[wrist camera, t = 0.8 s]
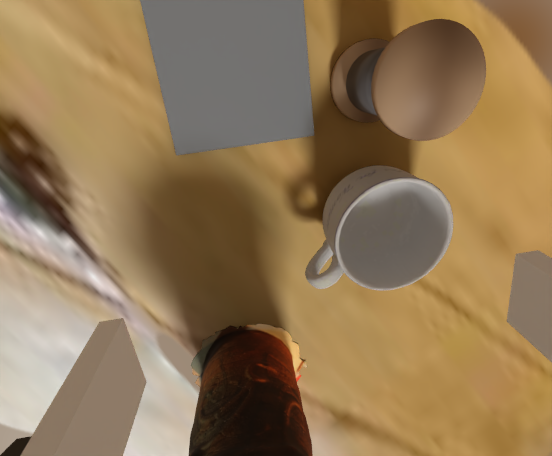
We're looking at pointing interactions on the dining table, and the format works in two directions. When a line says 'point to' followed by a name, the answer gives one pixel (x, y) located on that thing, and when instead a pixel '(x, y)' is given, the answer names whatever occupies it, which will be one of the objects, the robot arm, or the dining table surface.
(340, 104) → the brown rounded upright piece
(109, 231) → the dining table surface
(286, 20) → the pad
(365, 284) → the teacup
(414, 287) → the dining table surface
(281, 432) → the vessel
